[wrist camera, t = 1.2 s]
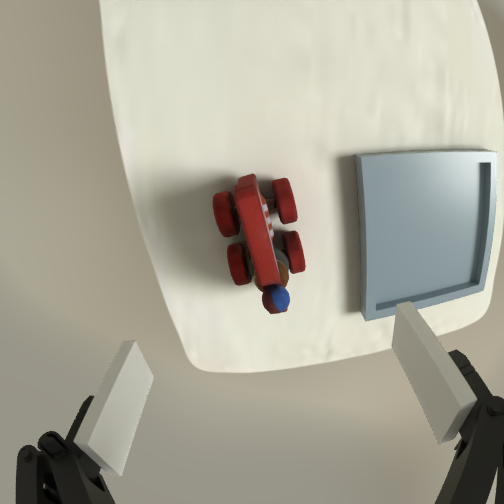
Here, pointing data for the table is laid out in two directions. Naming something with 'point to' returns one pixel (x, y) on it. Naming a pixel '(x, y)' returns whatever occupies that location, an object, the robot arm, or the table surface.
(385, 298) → the tray
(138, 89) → the table surface
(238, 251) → the toy fire truck
